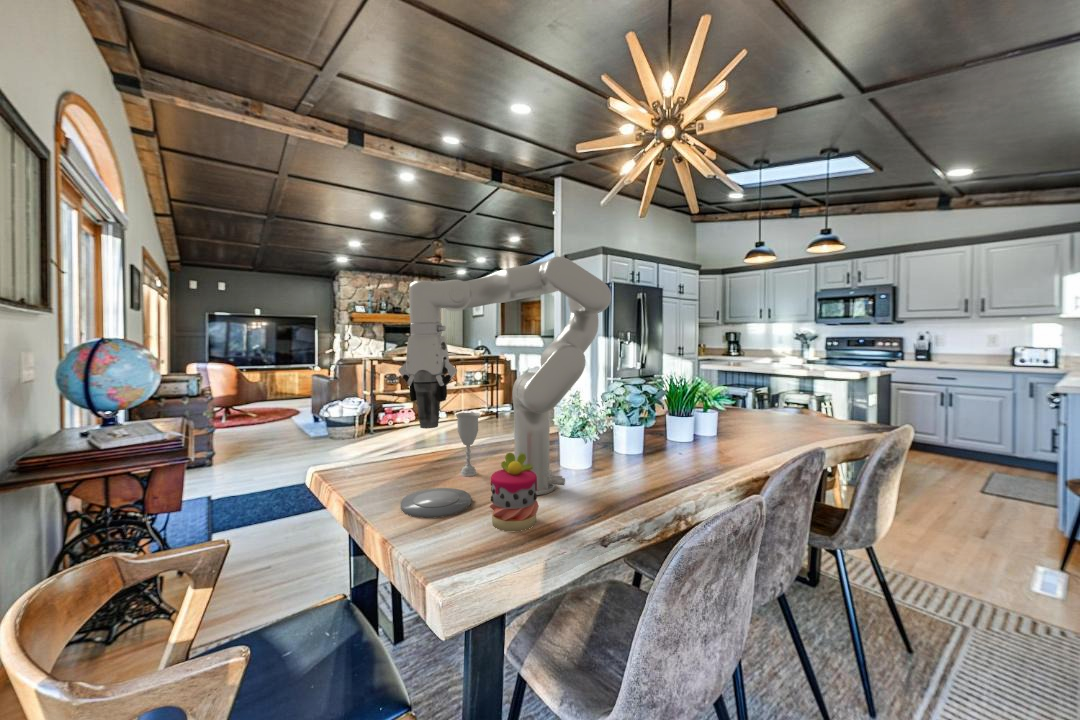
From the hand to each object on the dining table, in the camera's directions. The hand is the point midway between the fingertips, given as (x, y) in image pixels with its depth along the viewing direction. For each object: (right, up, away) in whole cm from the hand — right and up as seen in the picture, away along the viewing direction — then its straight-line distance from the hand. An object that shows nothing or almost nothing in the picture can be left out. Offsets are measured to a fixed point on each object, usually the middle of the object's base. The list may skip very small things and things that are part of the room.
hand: (428, 400), depth 118 cm
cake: (+23, -26, -14) cm, 37 cm away
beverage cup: (0, -7, 0) cm, 7 cm away
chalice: (+7, -24, +22) cm, 33 cm away
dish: (+3, -26, -3) cm, 26 cm away
